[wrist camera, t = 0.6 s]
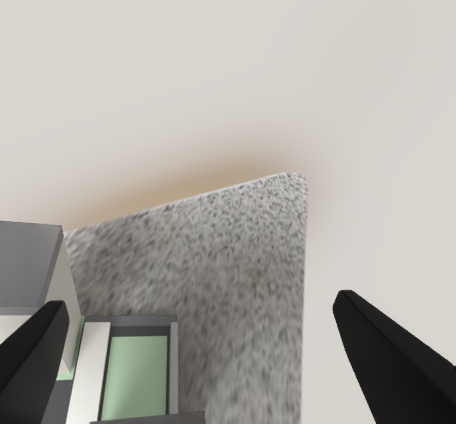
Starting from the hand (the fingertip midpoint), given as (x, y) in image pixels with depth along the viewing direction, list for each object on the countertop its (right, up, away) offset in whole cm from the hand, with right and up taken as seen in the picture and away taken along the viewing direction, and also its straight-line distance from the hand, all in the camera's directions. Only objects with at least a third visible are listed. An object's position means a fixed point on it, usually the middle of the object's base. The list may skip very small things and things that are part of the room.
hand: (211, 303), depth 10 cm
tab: (-11, -6, +9) cm, 15 cm away
